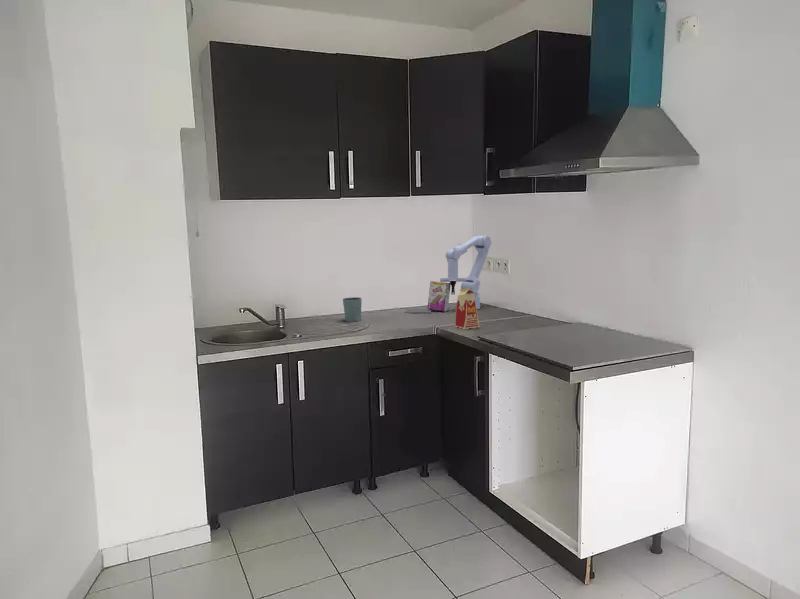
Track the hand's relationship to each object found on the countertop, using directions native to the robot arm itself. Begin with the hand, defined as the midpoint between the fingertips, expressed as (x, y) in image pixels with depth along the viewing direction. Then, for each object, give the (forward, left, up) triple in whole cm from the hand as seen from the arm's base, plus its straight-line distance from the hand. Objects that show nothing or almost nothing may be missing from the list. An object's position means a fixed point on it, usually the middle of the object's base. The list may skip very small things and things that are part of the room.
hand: (453, 294), depth 335 cm
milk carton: (-6, +48, -10) cm, 49 cm away
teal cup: (+54, +27, -10) cm, 61 cm away
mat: (+20, 0, -10) cm, 22 cm away
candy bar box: (+9, 0, -9) cm, 13 cm away
